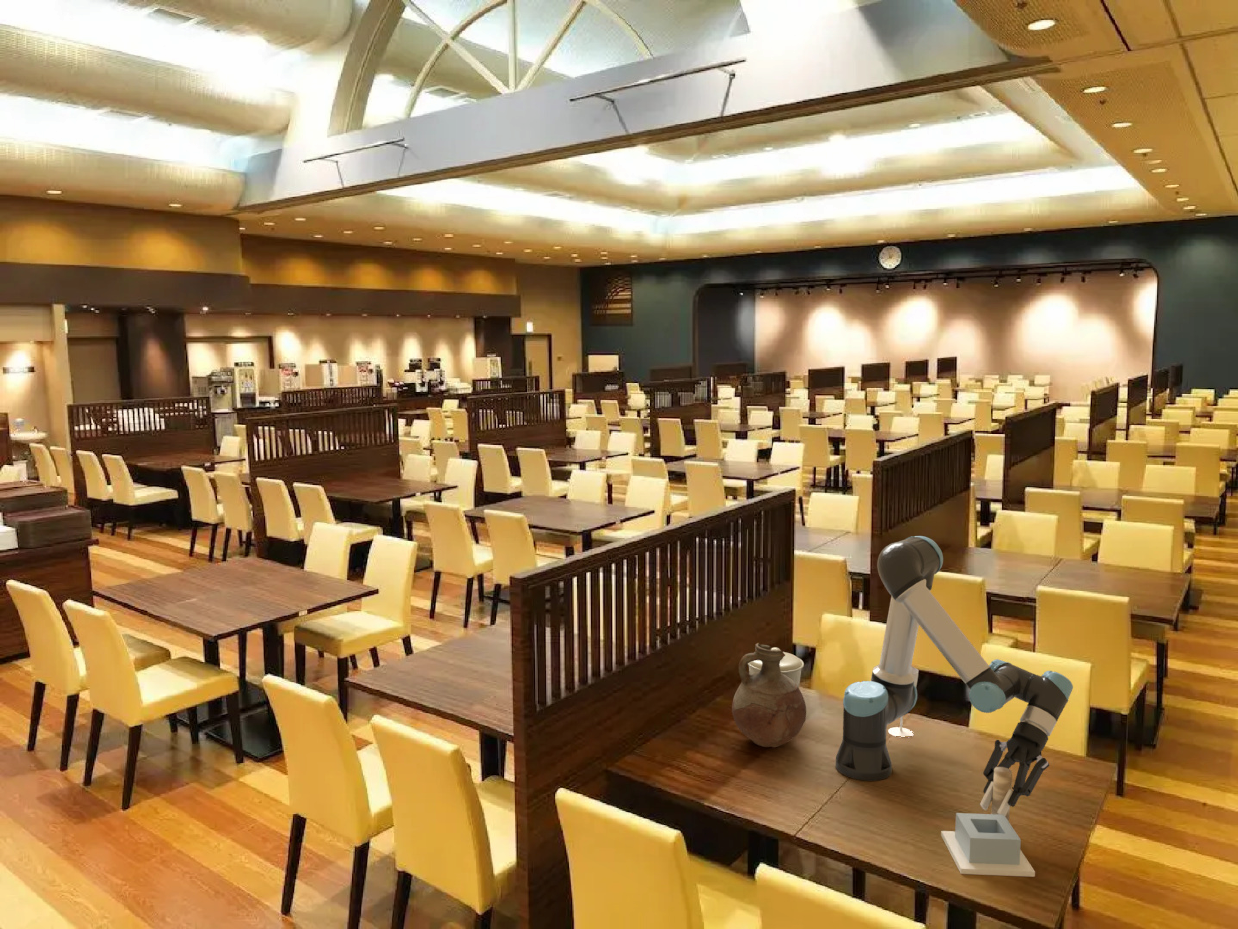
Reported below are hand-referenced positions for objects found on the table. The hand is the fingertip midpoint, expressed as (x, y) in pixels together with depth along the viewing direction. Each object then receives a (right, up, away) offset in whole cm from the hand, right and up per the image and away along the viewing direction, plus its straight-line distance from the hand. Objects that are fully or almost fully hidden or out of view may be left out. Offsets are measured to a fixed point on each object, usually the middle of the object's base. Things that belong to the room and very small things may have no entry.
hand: (991, 811), depth 218 cm
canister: (-40, +4, +75) cm, 85 cm away
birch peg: (+3, -4, +3) cm, 6 cm away
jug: (-45, +1, +51) cm, 69 cm away
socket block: (-5, -7, -8) cm, 12 cm away
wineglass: (-4, +2, +58) cm, 58 cm away
